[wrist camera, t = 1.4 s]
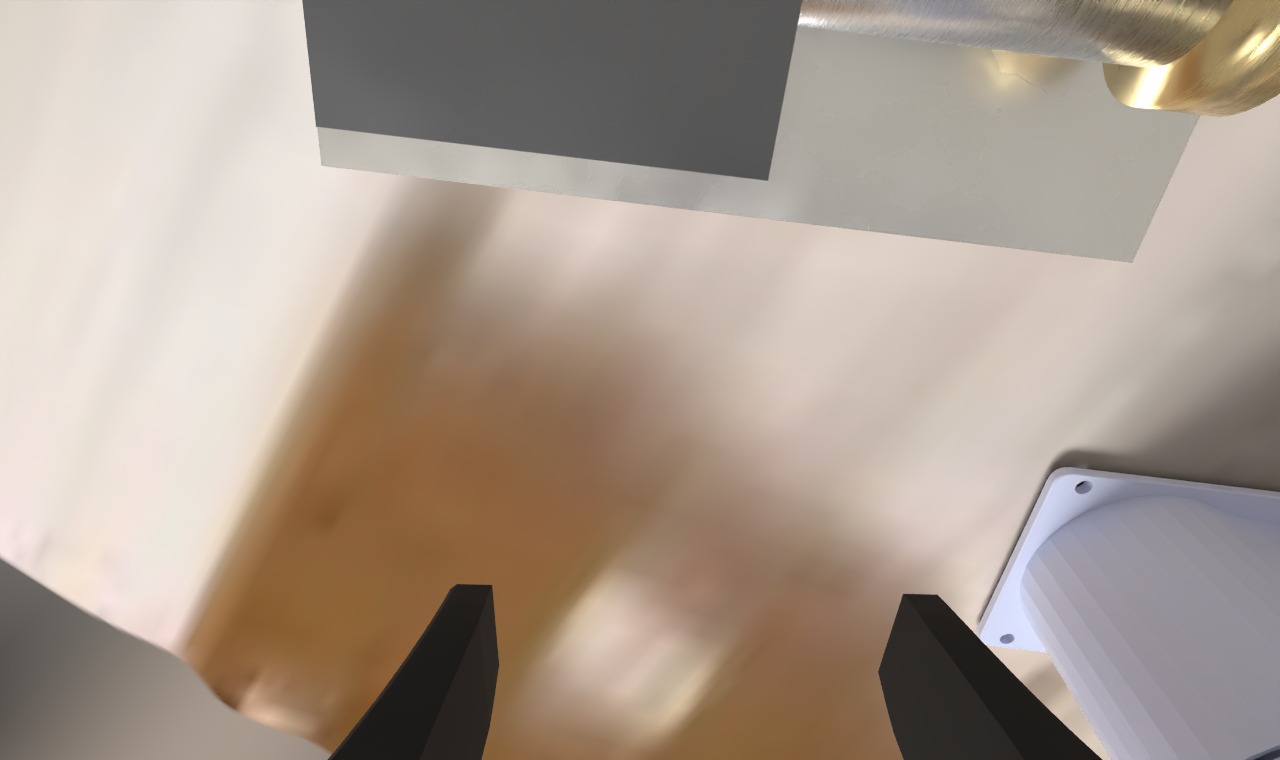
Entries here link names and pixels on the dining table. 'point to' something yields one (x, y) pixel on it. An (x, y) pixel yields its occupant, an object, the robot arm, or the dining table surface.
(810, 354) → the dining table surface
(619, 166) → the bearing block
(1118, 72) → the shaft
